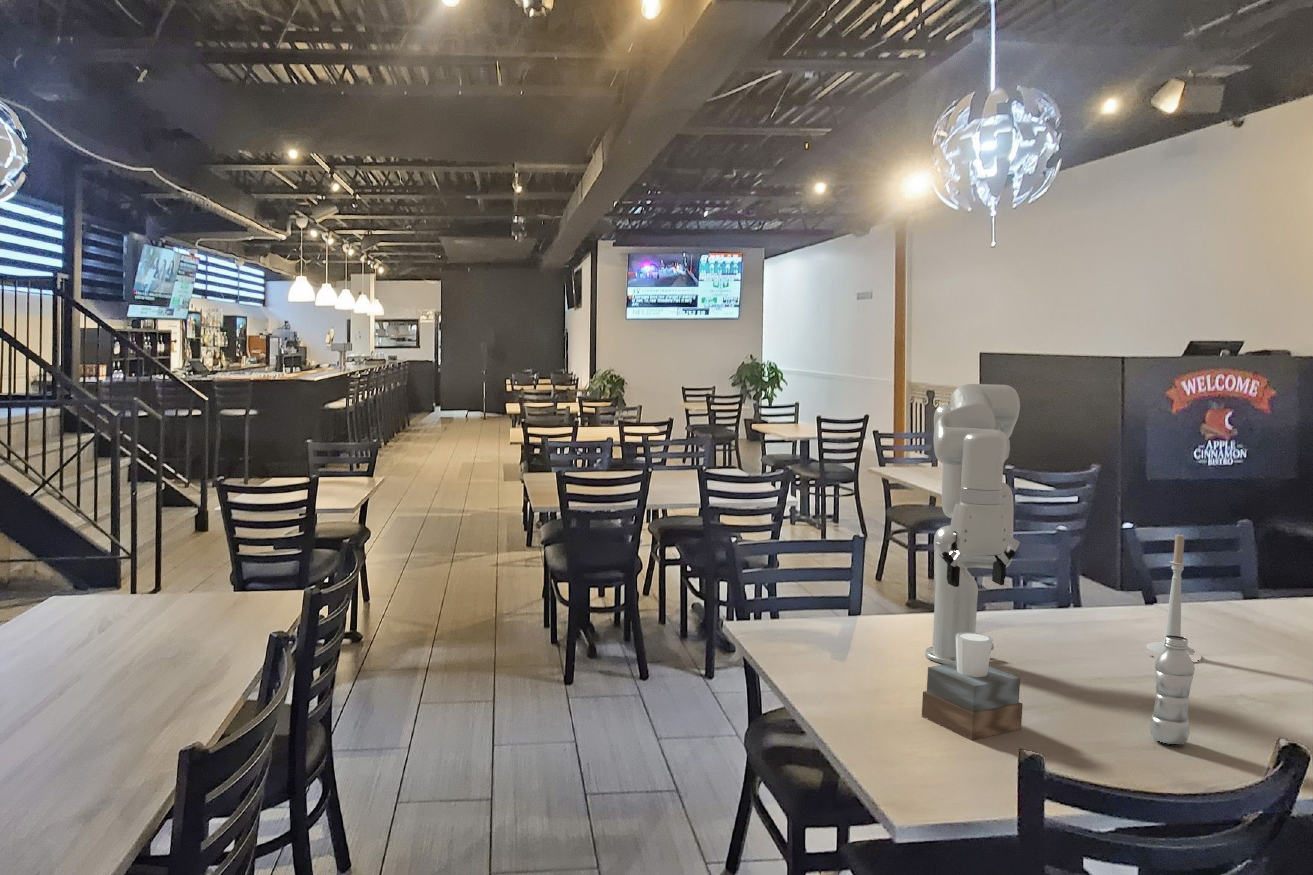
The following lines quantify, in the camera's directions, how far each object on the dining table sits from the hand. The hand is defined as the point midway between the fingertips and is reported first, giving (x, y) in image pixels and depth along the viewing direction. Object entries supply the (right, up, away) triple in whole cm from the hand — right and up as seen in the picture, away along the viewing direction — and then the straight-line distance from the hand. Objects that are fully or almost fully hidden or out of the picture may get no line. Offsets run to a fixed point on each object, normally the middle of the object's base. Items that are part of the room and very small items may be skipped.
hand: (975, 584), depth 189 cm
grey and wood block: (-1, -27, 0) cm, 27 cm away
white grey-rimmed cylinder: (-1, -17, -1) cm, 17 cm away
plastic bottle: (+34, -29, -7) cm, 45 cm away
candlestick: (+64, -25, +49) cm, 84 cm away
